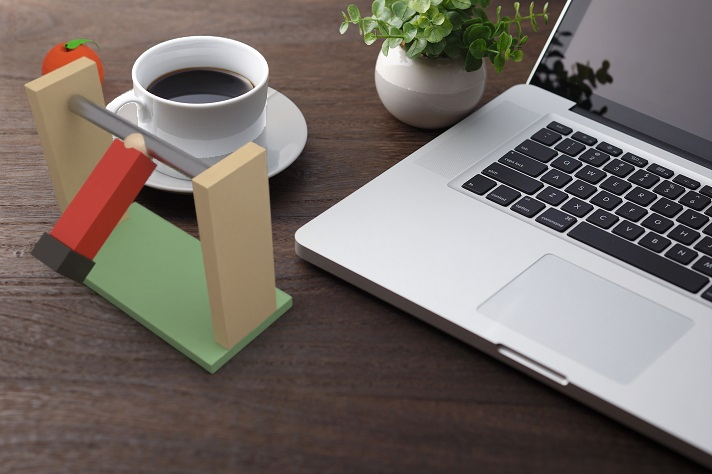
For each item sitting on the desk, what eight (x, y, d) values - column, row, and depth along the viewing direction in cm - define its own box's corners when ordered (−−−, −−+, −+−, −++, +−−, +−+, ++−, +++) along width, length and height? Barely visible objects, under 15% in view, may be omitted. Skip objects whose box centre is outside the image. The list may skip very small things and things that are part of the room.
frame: (54, 263, 77) (1, 95, 65) (137, 210, 83) (103, 47, 71) (212, 374, 68) (185, 202, 56) (293, 306, 74) (284, 136, 61)
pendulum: (-24, 215, 66) (69, 85, 67) (4, 230, 68) (92, 104, 70) (116, 315, 58) (216, 165, 60) (141, 326, 61) (236, 183, 63)
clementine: (86, 73, 103) (74, 20, 98) (127, 89, 100) (117, 36, 95) (36, 102, 98) (21, 48, 93) (78, 120, 95) (65, 65, 90)
